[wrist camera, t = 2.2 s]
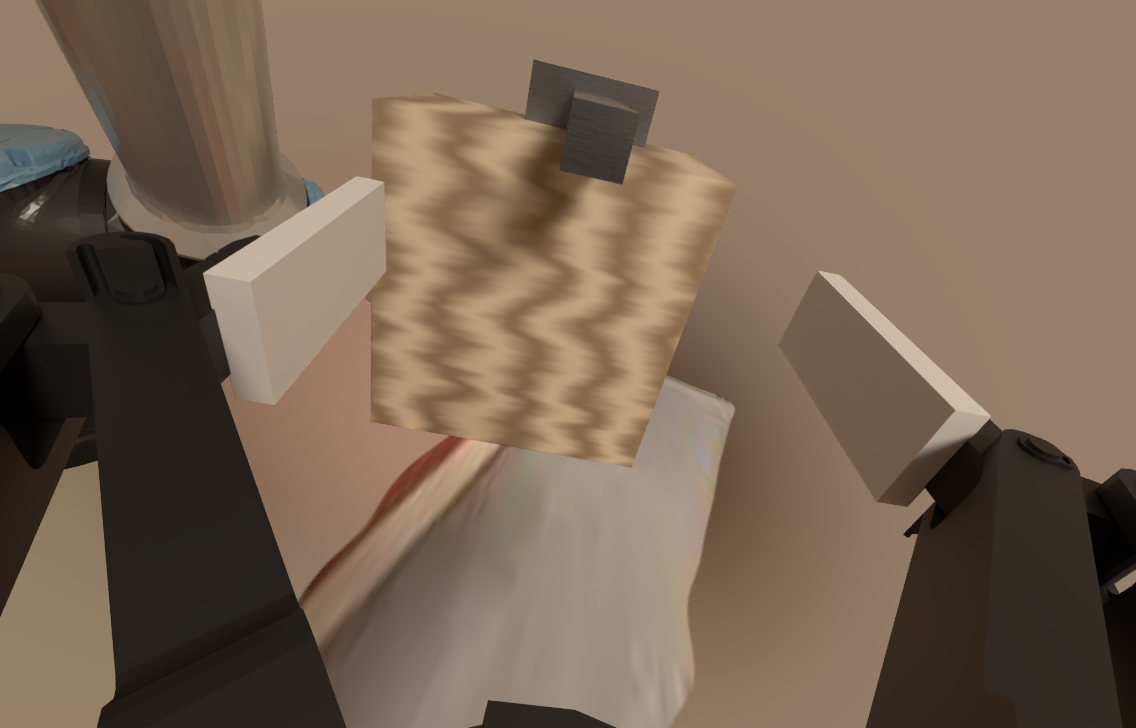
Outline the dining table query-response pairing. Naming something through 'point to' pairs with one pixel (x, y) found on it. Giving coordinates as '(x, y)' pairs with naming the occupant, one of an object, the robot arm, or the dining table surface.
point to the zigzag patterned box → (529, 279)
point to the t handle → (591, 118)
